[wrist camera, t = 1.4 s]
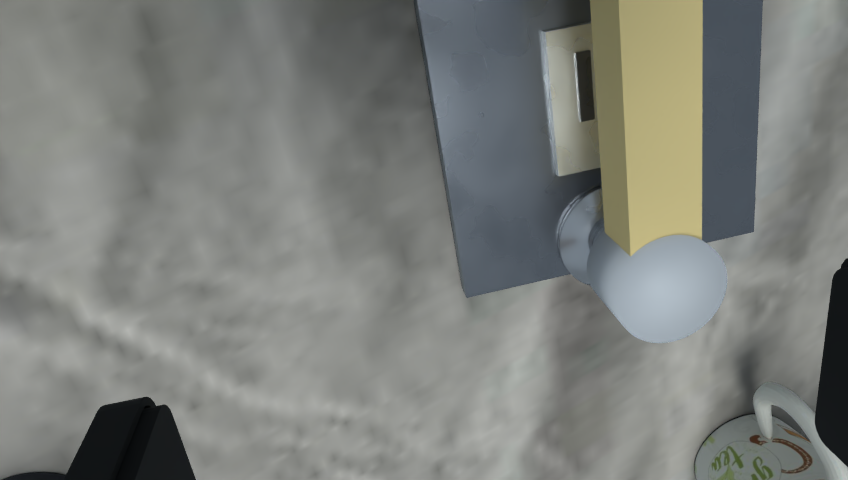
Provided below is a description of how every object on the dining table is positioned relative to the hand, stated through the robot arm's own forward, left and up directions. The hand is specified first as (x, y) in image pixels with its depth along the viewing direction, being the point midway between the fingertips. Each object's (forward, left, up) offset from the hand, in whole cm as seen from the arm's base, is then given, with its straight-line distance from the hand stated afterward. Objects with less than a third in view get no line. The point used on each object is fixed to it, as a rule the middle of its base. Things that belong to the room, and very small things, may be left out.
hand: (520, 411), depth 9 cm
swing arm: (0, +9, -16) cm, 19 cm away
